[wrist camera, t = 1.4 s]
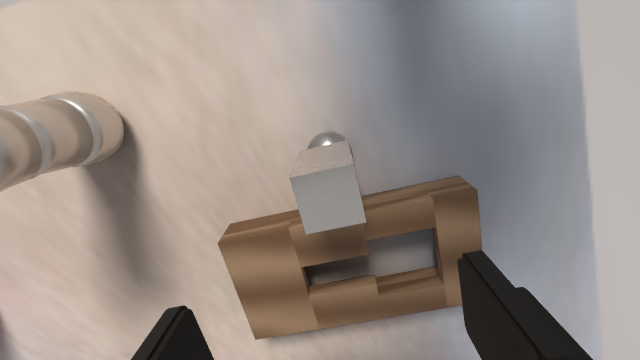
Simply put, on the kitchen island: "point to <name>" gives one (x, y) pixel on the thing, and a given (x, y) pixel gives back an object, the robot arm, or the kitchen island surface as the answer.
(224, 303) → the kitchen island surface
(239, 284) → the keyhole plate
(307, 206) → the steel peg
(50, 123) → the plastic bottle
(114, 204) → the kitchen island surface
